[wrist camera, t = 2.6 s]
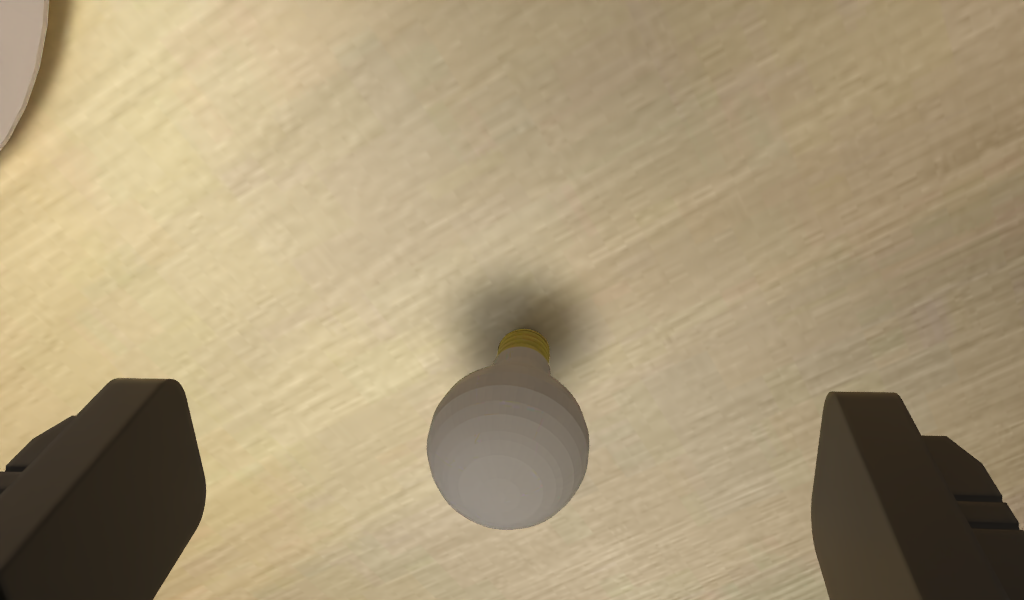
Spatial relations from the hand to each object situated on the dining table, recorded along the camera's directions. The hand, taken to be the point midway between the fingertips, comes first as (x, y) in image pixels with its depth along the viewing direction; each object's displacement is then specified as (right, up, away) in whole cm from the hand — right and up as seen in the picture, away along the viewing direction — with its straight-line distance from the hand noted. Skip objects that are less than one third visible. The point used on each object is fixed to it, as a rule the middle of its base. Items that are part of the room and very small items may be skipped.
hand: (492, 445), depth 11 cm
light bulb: (+1, 0, +26) cm, 26 cm away
